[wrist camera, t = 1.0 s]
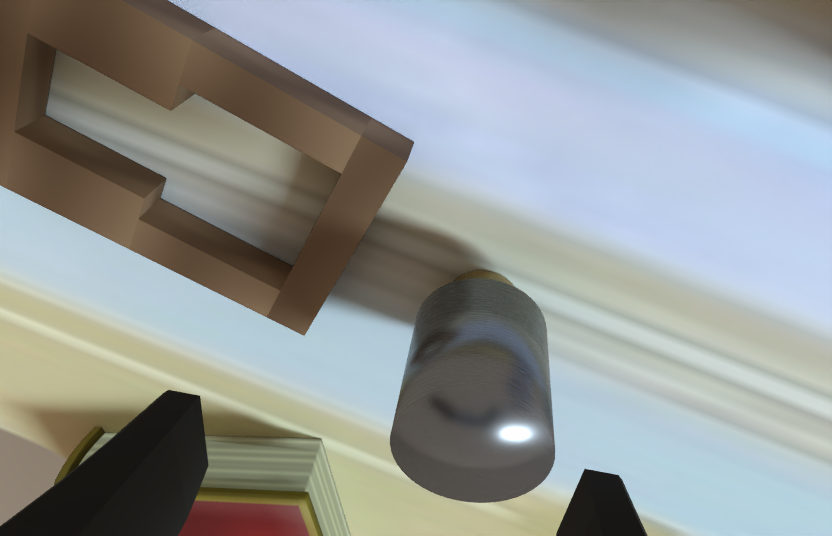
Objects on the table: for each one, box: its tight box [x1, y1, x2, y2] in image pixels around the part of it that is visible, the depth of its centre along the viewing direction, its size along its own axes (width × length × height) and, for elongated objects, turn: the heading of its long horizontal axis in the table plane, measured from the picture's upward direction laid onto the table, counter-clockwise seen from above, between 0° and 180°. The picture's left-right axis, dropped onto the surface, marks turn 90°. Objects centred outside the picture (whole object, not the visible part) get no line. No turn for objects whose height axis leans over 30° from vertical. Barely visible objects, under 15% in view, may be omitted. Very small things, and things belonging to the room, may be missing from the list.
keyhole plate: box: [0, 0, 414, 335], centre depth 19 cm, size 13×8×2 cm, turn 61°
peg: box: [390, 271, 555, 503], centre depth 19 cm, size 4×4×7 cm
